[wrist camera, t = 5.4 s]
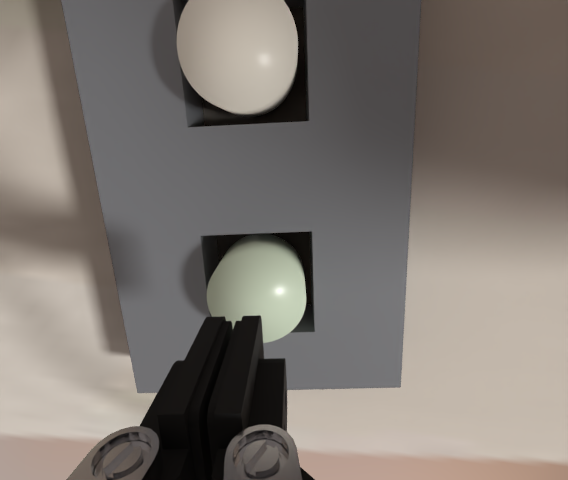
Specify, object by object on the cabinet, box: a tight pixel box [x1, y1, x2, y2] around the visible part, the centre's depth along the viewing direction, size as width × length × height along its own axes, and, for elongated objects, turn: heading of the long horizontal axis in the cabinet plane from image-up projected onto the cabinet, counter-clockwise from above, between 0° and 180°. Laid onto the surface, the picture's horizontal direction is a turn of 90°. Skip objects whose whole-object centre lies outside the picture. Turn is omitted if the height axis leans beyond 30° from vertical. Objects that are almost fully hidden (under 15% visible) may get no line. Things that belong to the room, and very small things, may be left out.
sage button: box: [207, 234, 306, 343], centre depth 16 cm, size 4×4×3 cm
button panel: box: [61, 0, 421, 393], centre depth 15 cm, size 14×32×3 cm, turn 3°
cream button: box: [177, 0, 298, 117], centre depth 14 cm, size 4×4×3 cm
